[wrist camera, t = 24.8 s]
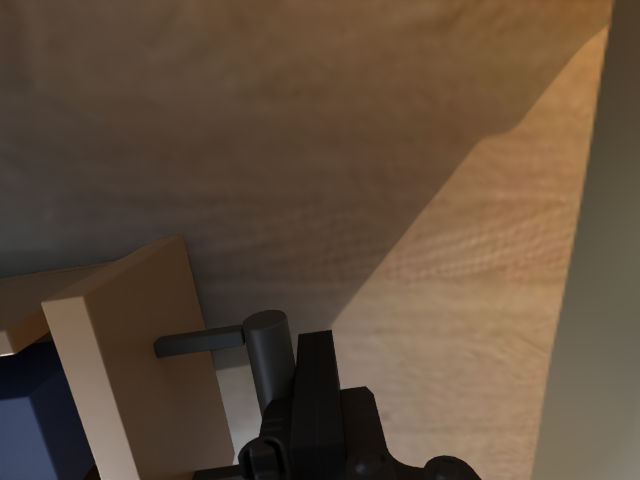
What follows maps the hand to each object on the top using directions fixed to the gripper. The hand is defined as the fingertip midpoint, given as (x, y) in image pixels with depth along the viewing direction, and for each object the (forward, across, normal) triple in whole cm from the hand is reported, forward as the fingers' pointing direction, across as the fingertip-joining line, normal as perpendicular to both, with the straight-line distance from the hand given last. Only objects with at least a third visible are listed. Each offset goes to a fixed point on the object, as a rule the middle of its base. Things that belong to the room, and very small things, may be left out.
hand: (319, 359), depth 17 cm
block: (+1, -12, 0) cm, 12 cm away
